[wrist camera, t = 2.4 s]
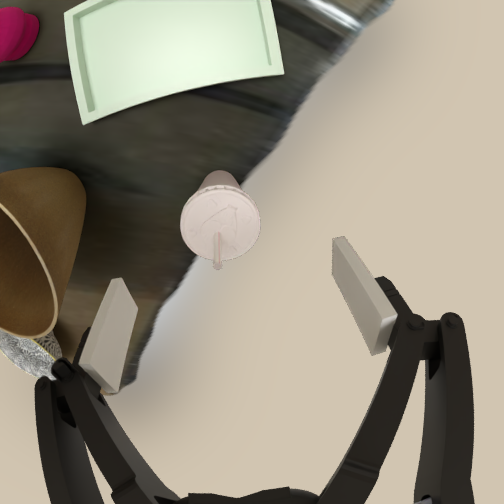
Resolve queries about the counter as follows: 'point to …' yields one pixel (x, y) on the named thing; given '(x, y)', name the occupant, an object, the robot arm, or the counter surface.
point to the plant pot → (37, 246)
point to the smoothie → (220, 219)
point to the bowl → (31, 353)
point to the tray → (165, 49)
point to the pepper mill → (16, 33)
